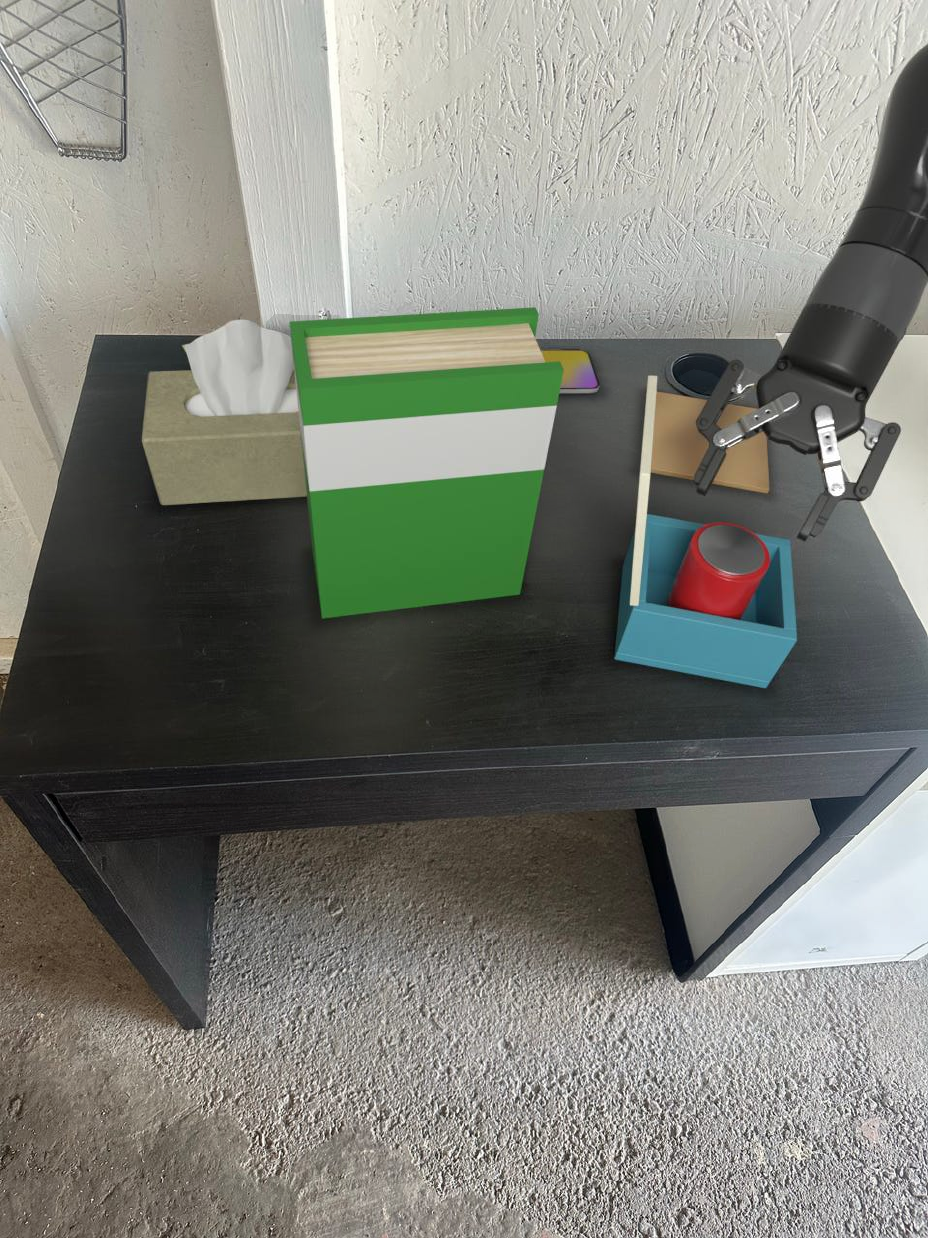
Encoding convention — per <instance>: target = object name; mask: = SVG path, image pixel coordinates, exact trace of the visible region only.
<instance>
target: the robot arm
mask: <svg viewBox="0 0 928 1238" xmlns="http://www.w3.org/2000/svg"><path fill="white" fill-rule="evenodd" d="M927 285H928V43H926V44H925V45H924V46H923V47H921V48H920V49H918V51H916V53H915V54H914V55H913V56H912V57H911V58H910V59H909V60H908V61H907V63H906V64H905V65H904V67H903V68H902V70H901V71H900V73H899V75H898V76H897V78H896V80H895V82H894V85H893V86H892V89H891V91H890V94H889V97H888V99H887V102H886V104H885V108H884V112H883V116H882V120H881V126H880V131H879V135H878V140H877V144H876V150H875V154H874V158H873V163H872V166H871V170H870V173H869V176H868V181H867V185H866V188H865V192H864V193H863V197H862V200H861V202H860V205H859V206H858V209H857V210H856V212H855V215H854V217H853V218H852V221H851V222H850V225H849V227H848V228H847V229H846V232H845V234H844V236H843V238H842V240H841V242H840V244H839V246H838V248H837V249H836V251H835V252H834V254H833V256H832V258H831V259H830V260H829V262H828V263H827V265H826V266H825V268H824V269H823V271H822V272H821V274H820V275H819V277H818V279H817V281H816V283H815V284H814V286H813V289H812V290H811V292H810V294H809V296H808V298H807V300H806V303H805V304H804V306H803V308H802V310H801V312H800V314H799V316H798V318H797V319H796V322H795V324H794V326H793V327H792V329H791V332H790V333H789V335H788V337H787V338H786V341H785V343H784V345H783V347H782V349H781V351H780V353H779V355H778V357H777V358H776V361H775V362H774V364H773V366H772V367H771V368H770V369H769V370H768V371H767V372H766V373H765V374H763V375H762V374H760V373H758V372H756V371H754V370H751V369H749V368H747V367H746V366H744V363H743V361H742V360H739V359H732V360H730V362H729V363H728V364H727V366H726V368H725V370H724V371H723V373H722V375H721V376H720V378H719V380H718V381H717V384H716V385H715V387H714V389H713V390H712V392H711V393H710V396H709V397H708V399H707V400H708V401H707V402H706V404H705V406H704V407H703V409H702V411H701V413H700V414H699V416H698V418H697V420H696V426H697V429H698V432H699V433H700V434H702V435H703V436H704V437H705V438H706V439H707V440H708V441H709V447H708V450H707V451H706V453H705V455H704V457H703V459H702V461H701V463H700V465H699V467H698V469H697V471H696V473H695V476H694V480H693V482H694V484H695V485H696V486H697V488H696V490H695V491H696V493H697V494H699V495H701V496H703V497H706V496H707V494H708V492H709V490H710V489H711V487H712V485H713V484H712V483H713V481H714V479H715V477H716V475H717V473H718V471H719V469H720V467H721V465H722V463H723V461H724V459H725V457H726V449H728V448H730V447H732V446H734V445H736V444H738V443H740V442H742V441H744V440H747V439H749V438H751V437H753V436H755V435H757V434H759V433H761V432H764V434H765V435H766V436H767V439H768V441H771V442H774V443H776V444H779V445H785V446H789V447H790V448H792V449H793V450H794V451H795V452H797V453H800V454H802V455H803V456H806V455H817V461H818V464H819V470H820V473H821V477H822V483H823V486H824V487H823V488H824V491H823V492H820V494H819V495H818V497H817V499H816V500H815V503H814V504H813V506H812V508H811V510H810V511H809V513H808V515H807V517H806V520H804V523H803V525H802V527H801V529H800V530H799V532H798V534H797V536H796V539H798V540H800V541H802V542H806V541H807V539H808V538H809V536H810V537H812V538H816V537H818V535H820V533H822V531H823V530H824V528H825V526H826V524H827V523H828V521H829V519H830V517H831V515H832V513H833V511H834V509H835V508H836V506H837V504H838V503H839V502H841V501H855V502H859V503H862V502H864V501H866V500H867V499H868V498H870V496H871V495H873V492H874V490H875V488H876V485H877V483H878V481H879V478H881V475H882V473H883V471H884V468H885V466H886V464H887V462H888V460H889V458H890V456H891V455H892V452H893V449H894V447H895V445H896V443H897V441H898V439H899V437H900V434H901V432H902V428H901V425H900V424H899V423H897V422H893V421H891V422H888V423H885V422H882V421H879V420H876V419H873V418H869V417H867V416H866V408H867V404H868V402H869V400H870V398H871V397H872V395H873V392H874V391H875V389H876V387H877V386H878V383H879V381H880V380H881V378H882V376H883V374H884V372H885V371H886V368H887V367H888V365H889V363H890V361H891V359H892V357H893V356H894V354H895V351H896V350H897V348H898V346H899V345H900V342H901V341H902V340H903V338H904V337H905V336H906V334H907V329H908V328H909V326H910V325H911V322H912V320H913V318H914V316H915V315H916V312H917V310H918V308H919V305H920V303H921V300H922V296H923V294H924V292H925V289H926V287H927ZM749 389H755V394H756V400H757V406H758V407H757V408H756V409H757V410H755V411H754V412H752V413H750V414H748V415H746V416H744V417H742V418H741V419H739V420H738V421H737V422H735V423H733V424H732V425H730V426H728V427H726V428H724V429H721V428H720V427H719V426H718V425H717V424H716V423H717V421H718V419H719V418H720V416H721V414H722V413H723V411H724V409H725V407H726V406H727V404H729V403H730V401H731V399H732V397H733V396H735V397H740V396H742V395H744V394H745V393H746V391H748V390H749ZM859 431H860V432H861V433H862V434H863V436H864V440H863V446H864V448H865V449H866V450H867V451H870V452H869V454H868V456H867V459H866V460H865V462H864V465H863V467H862V469H861V471H860V473H859V475H858V478H857V480H856V482H855V481H854V482H852V481H845V479H844V473H843V469H842V468H843V467H842V459H841V454H840V448H839V444H838V443H839V442H842V441H844V440H845V439H848V438H849V437H851V436H854V435H855V434H857V433H859Z"/></svg>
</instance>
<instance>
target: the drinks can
mask: <svg viewBox="0 0 928 1238" xmlns="http://www.w3.org/2000/svg"><path fill="white" fill-rule="evenodd" d="M754 533H755V532H752V531H751V530H749V529H747V528H746V527H743V526H741V525H738V524H735V523H730V522H711V523H707V524H705V526H703V527H701V528H700V529H698V530H697V531H696V532H695V533H694V535H693V537H692V539H691V541H690V544H689V546H688V549H687V551H686V553H685V556H684V558H683V561H682V563H681V566H680V568H679V570H678V573H677V575H676V578H675V580H674V582H673V585H672V587H671V590H670V592H669V594H668V597H667V599H666V602H665V604H664V606H668V607H673V608H678V609H684V610H689V611H694V612H700V613H705V614H710V615H716V616H721V617H726V618H732V619H737V620H740V619H741V618H742V616H743V614H744V612H745V610H746V608H747V607H748V605H749V603H750V601H751V599H752V597H753V595H754V594H755V592H756V590H757V588H758V586H759V584H760V582H761V581H762V579H763V577H764V575H765V573H766V571H767V569H768V567H769V564H770V555H769V552H768V549H767V547H766V546H765V544H764V543H763V541H762V540H761V539H760V538H759V537H758V536H757V535H755V534H756V533H755V534H754Z"/></svg>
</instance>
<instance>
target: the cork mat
mask: <svg viewBox="0 0 928 1238" xmlns="http://www.w3.org/2000/svg"><path fill="white" fill-rule="evenodd" d="M707 401H708V399H703V398H697V397H691V396H687V395H680V394H676V393H675V394H674V393H669V392H663V391H656V405H655V419H654V433H653V446H652V460H651V474H656V475H662V476H668V477H673V478H679V479H685V480H690V481H694V476H695V473H696V471H697V469H698V467H699V465H700V463H701V461H702V459H703V457H704V455H705V453H706V451H707V450H708V447H709V441H708V440H707V439H706V438H705V437H704V436H703V435H702V434H700V433H699V432H698V429H697V426H696V420H697V418H698V416H699V414H700V413H701V411H702V409H703V407H704V406H705V404H706V402H707ZM757 409H758V408H755V407H749V406H743V405H737V404H731V403H728V404H727V406H726V407H725V409H724V411H723V413H722V414H721V416H720V418H719V419H718V421H717V423H716V424H717V425H718V426H719V427H720V428H721V429H724V428H726V427H728V426H730V425H732V424H733V423H735V422H737V421H738V420H739V419H741V418H742V417H744V416H746V415H748V414H750V413H752V412H754V411H755V410H757ZM769 475H770V473H769V455H768V437H767V436H766V435H765V434H764V432H761V433H759V434H757V435H755V436H753V437H751V438H749V439H747V440H744V441H742V442H740V443H738V444H736V445H734V446H732V447H730V448H728V449H726V457H725V459H724V461H723V463H722V465H721V467H720V469H719V471H718V473H717V475H716V477H715V479H714V481H713V483H712V485H717V486H722V487H728V488H729V487H730V488H732V489H733V488H734V489H739V490H746V491H749V492H750V491H751V492H756V493H761V494H768V493H769V492H770V476H769Z"/></svg>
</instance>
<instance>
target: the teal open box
mask: <svg viewBox="0 0 928 1238" xmlns="http://www.w3.org/2000/svg"><path fill="white" fill-rule="evenodd" d="M705 525H706V524H703V523H700V522H694V521H689V520H683V519H678V518H673V517H667V516H661V515H655V514H650V513H647V518H646V529H645V540H644V551H643V562H642V573H641V584H640V595H639V605H638V606H632V605H630V592H631V579H632V567H633V554H634V541H635V530H634V531H633V534H632V536H631V540H630V543H629V546H628V549H627V552H626V554H625V555H626V556H625V558H624V561H623V565H622V572H621V580H620V581H621V583H620V591H619V592H620V593H619V604H618V615H617V625H616V636H615V648H614V657H613V658H614V660H616V661H621V662H627V663H631V664H637V665H641V666H642V665H643V666H647V667H653V668H658V669H663V670H668V671H673V672H678V673H683V674H687V675H688V674H689V675H692V676H693V675H694V676H700V677H704V678H710V679H714V680H720V681H725V682H730V683H735V684H741V685H746V686H752V687H757V688H762V689H767V688H768V686H769V685H770V682H771V681H772V680H773V678H774V677H775V675H776V674H777V672H778V670H779V669H780V668H781V666H782V664H783V663H784V661H785V660H786V658H787V657H788V655H789V653H790V652H791V650H792V649H793V647H795V644H796V643H797V642H798V635H797V634H798V633H797V632H798V631H797V617H796V604H795V603H796V602H795V589H794V577H793V575H794V574H793V563H792V547H791V545H792V544H791V539H787V538H782V537H776V536H771V535H765V534H760V533H755V532H753V533H754V534H755V535H757V536H758V537H759V538H760V539H761V540H762V541H763V543H764V544H765V546H766V547H767V549H768V552H769V555H770V564H769V567H768V569H767V571H766V573H765V575H764V577H763V579H762V581H761V582H760V584H759V586H758V588H757V590H756V592H755V594H754V595H753V597H752V599H751V601H750V603H749V605H748V607H747V608H746V610H745V612H744V614H743V616H742V618H741V619H740V620H737V619H732V618H726V617H721V616H716V615H710V614H705V613H700V612H694V611H689V610H684V609H678V608H673V607H668V606H664V604H665V602H666V599H667V597H668V594H669V592H670V590H671V587H672V585H673V582H674V580H675V578H676V575H677V573H678V570H679V568H680V566H681V563H682V561H683V558H684V556H685V553H686V551H687V549H688V546H689V544H690V541H691V539H692V537H693V535H694V533H695V532H696V531H697V530H698V529H700V528H701V527H703V526H705Z"/></svg>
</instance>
